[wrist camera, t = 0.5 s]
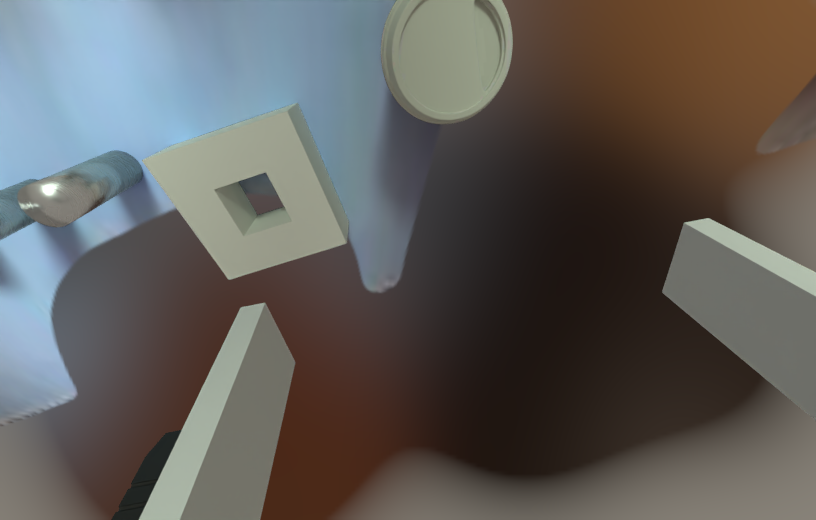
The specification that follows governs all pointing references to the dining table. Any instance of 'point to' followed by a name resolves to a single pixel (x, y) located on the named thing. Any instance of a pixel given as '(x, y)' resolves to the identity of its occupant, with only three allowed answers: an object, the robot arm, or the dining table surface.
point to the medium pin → (79, 188)
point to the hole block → (228, 204)
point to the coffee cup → (446, 56)
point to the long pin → (13, 210)
